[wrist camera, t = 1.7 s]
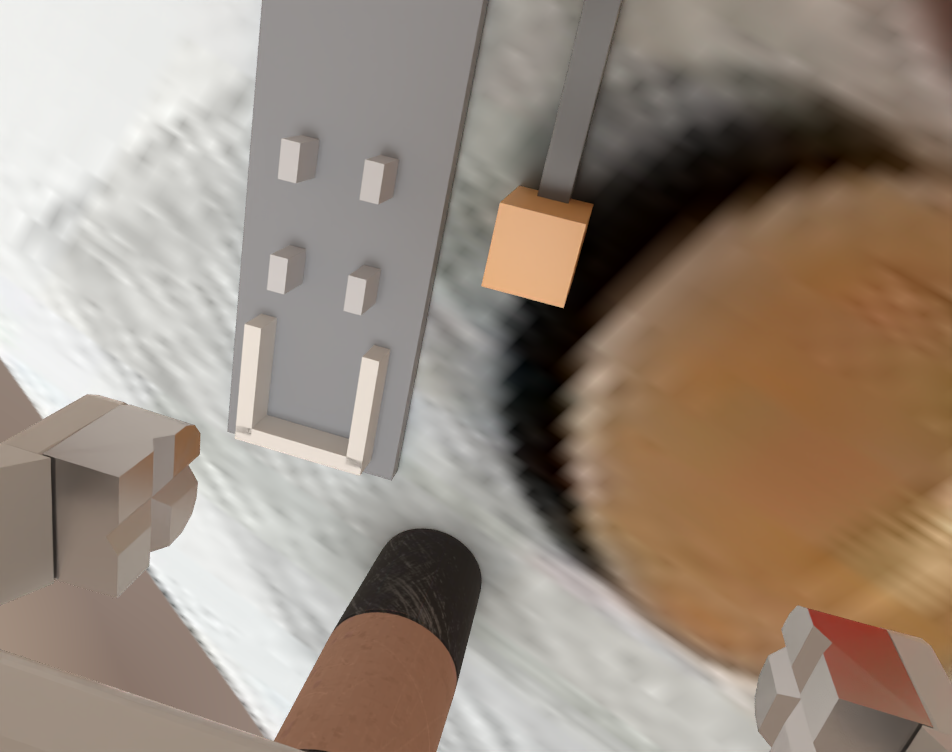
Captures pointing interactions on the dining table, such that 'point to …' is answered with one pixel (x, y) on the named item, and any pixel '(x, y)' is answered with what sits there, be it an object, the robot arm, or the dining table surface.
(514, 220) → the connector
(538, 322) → the dining table surface
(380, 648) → the travel mug
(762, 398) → the dining table surface
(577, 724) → the dining table surface
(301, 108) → the clip board
